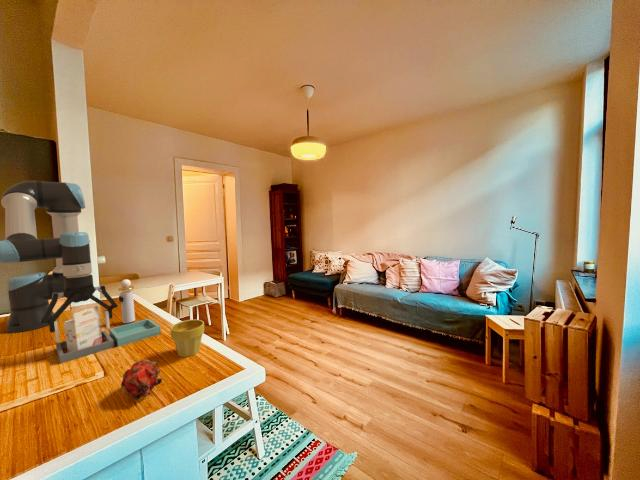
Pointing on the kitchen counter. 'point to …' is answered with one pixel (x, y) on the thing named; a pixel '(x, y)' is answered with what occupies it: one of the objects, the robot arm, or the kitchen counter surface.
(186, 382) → the kitchen counter surface
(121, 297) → the perfume bottle
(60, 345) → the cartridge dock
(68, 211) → the robot arm
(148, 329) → the teal tray
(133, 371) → the dragon fruit
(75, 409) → the kitchen counter surface
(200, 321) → the plant pot
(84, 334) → the ink cartridge box
